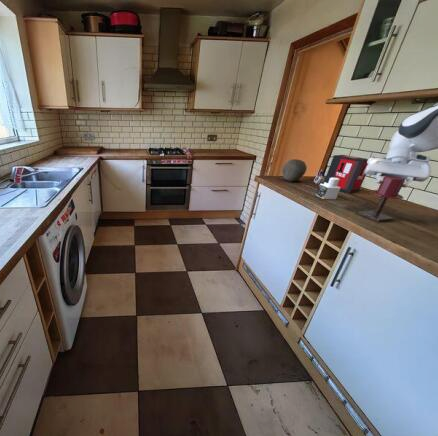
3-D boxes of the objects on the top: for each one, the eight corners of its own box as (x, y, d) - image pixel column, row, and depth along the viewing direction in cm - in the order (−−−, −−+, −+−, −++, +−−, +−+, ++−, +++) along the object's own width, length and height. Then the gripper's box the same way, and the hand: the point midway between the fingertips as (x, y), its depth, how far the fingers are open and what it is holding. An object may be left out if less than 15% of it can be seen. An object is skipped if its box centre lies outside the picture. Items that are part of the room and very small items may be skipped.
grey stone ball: (301, 185, 153) (309, 162, 146) (278, 181, 160) (284, 159, 153) (302, 180, 164) (309, 159, 157) (280, 177, 170) (286, 156, 164)
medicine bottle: (315, 195, 135) (322, 175, 130) (327, 195, 135) (335, 175, 129) (323, 199, 128) (331, 178, 123) (335, 199, 128) (344, 179, 123)
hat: (408, 198, 99) (418, 180, 96) (390, 199, 97) (400, 181, 94) (381, 190, 108) (390, 174, 105) (364, 191, 106) (372, 174, 103)
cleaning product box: (358, 191, 143) (373, 159, 134) (349, 193, 140) (364, 160, 131) (330, 184, 157) (342, 154, 148) (322, 185, 153) (333, 155, 145)
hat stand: (393, 220, 104) (410, 189, 98) (378, 222, 103) (394, 190, 96) (371, 212, 112) (386, 183, 106) (357, 213, 111) (371, 183, 104)
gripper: (371, 151, 106) (363, 176, 103) (436, 158, 95) (429, 185, 92) (366, 160, 111) (358, 183, 108) (426, 166, 100) (420, 193, 97)
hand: (391, 184), depth 100 cm, fingers closed on hat, 6 cm apart
